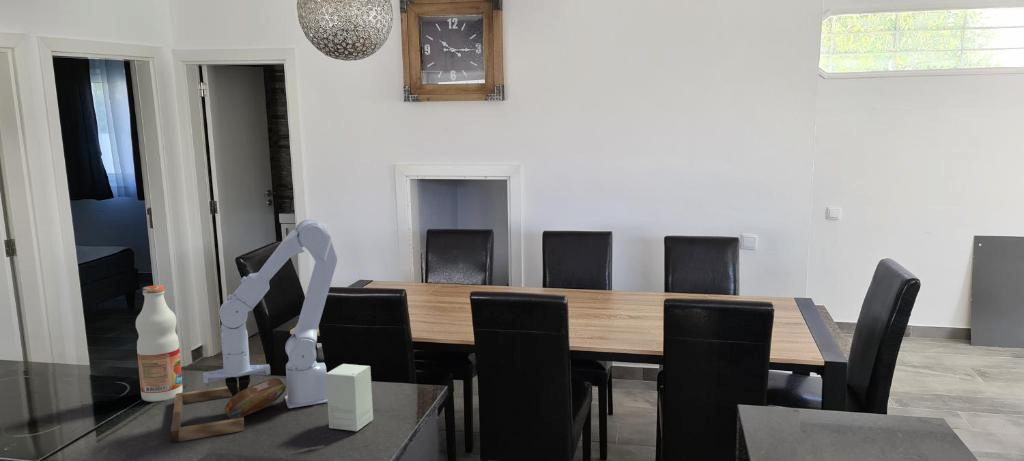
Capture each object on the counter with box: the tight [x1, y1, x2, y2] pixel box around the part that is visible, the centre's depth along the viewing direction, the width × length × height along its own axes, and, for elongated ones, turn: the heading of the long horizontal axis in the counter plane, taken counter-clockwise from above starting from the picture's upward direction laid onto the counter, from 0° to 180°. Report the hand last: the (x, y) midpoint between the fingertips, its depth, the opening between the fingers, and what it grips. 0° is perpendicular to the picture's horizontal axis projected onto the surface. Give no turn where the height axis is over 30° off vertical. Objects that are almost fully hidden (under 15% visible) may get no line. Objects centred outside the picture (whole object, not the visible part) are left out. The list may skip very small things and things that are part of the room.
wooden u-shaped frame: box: [170, 384, 246, 444], centre depth 162 cm, size 14×25×2 cm, turn 23°
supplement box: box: [326, 363, 374, 432], centre depth 155 cm, size 7×7×13 cm
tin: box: [224, 377, 287, 419], centre depth 162 cm, size 15×3×8 cm
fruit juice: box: [135, 284, 184, 402], centre depth 174 cm, size 9×9×28 cm
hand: (239, 407), depth 165 cm, fingers closed
